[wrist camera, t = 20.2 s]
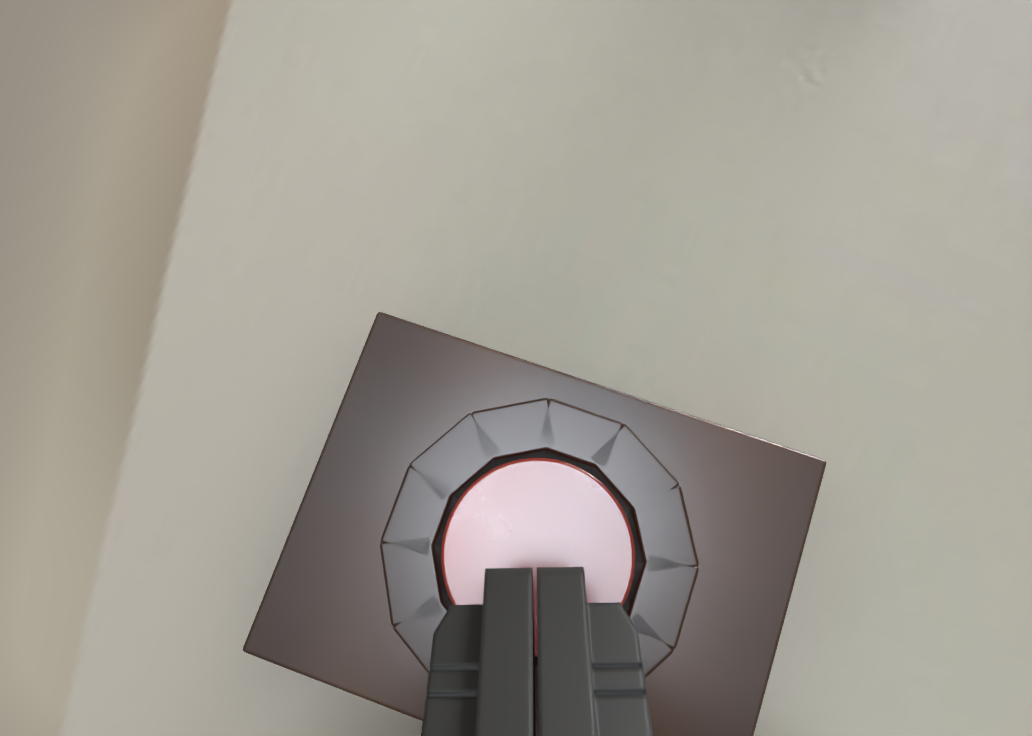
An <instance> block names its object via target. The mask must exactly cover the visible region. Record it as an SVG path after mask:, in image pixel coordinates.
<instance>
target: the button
mask: <svg viewBox="0 0 1032 736" xmlns="http://www.w3.org/2000/svg"><path fill="white" fill-rule="evenodd" d="M441 566H442V574H443V579H444V583H445V587H446V590H447V592H448V595H449V598H450V600H451V602H452V604H453V605H475V604H483V594H484V578H485V569H486V568H532V570H533V603H534V640H535V657H538V636H537V567H583V568H584V575H585V587H586V600H587V603H612V602H620V603H621V605H622V607H623V605H624V603H625V601H626V599H627V596H628V594H629V591H630V588H631V584H632V580H633V576H634V568H635V547H634V541H633V535H632V531H631V528H630V524H629V522H628V520H627V517H626V515H625V513H624V511H623V509H622V507H621V506H620V504H619V502H618V501H617V499H616V498H615V497H614V495H613V494H612V493H611V492H610V490H609V489H608V488H607V487H606V486H605V485H604V484H603V483H602V482H601V481H599V480H598V479H597V478H595V477H594V476H593V475H591V474H590V473H588V472H587V471H585V470H583V469H581V468H579V467H577V466H575V465H572V464H570V463H567V462H563V461H560V460H556V459H548V458H527V459H519V460H515V461H511V462H508V463H505V464H503V465H500V466H498V467H496V468H494V469H492V470H490V471H489V472H487V473H485V474H484V475H482V476H481V477H480V478H478V479H477V480H476V481H475V482H474V483H473V484H472V485H471V486H470V487H469V488H468V489H467V490H466V491H465V492H464V493H463V495H462V496H461V497H460V498H459V500H458V501H457V503H456V505H455V506H454V508H453V510H452V512H451V514H450V516H449V519H448V521H447V524H446V527H445V531H444V534H443V540H442V546H441Z"/></svg>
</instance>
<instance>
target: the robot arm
mask: <svg viewBox="0 0 1032 736" xmlns="http://www.w3.org/2000/svg"><path fill="white" fill-rule="evenodd" d="M537 636H538V709H539V736H653V732H652V725H651V719H650V712H649V705H648V698H647V694H646V684H645V677H644V670H643V663H642V656H641V649H640V642H639V635H638V630H637V628H636V627H635V625H634V624H633V622H632V621H631V619H630V617H629V616H628V614H627V613H626V611H625V610H624V608H623V607H622V605H621V603H620V602H612V603H587V600H586V587H585V575H584V568H583V567H537ZM426 693H427V696H426V700H425V708H424V717H423V725H422V733H421V736H536V714H535V640H534V603H533V570H532V568H486V569H485V578H484V594H483V604H475V605H450V607H449V609H448V610H447V612H446V613H445V615H444V617H443V618H442V620H441V622H440V623H439V625H438V627H437V628H436V630H435V632H434V633H433V642H432V650H431V658H430V672H429V675H428V683H427V692H426Z"/></svg>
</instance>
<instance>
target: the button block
mask: <svg viewBox="0 0 1032 736" xmlns="http://www.w3.org/2000/svg"><path fill="white" fill-rule="evenodd" d="M527 458H548V459H556V460H560V461H563V462H567V463H570V464H572V465H575V466H577V467H579V468H581V469H583V470H585V471H587V472H588V473H590V474H591V475H593V476H594V477H595V478H597V479H598V480H599V481H601V482H602V483H603V484H604V485H605V486H606V487H607V488H608V489H609V490H610V492H611V493H612V494H613V495H614V497H615V498H616V499H617V501H618V502H619V504H620V506H621V507H622V509H623V511H624V513H625V515H626V517H627V520H628V522H629V524H630V528H631V531H632V535H633V541H634V547H635V568H634V576H633V580H632V584H631V588H630V591H629V594H628V596H627V599H626V601H625V603H624V605H623V608H624V610H625V611H626V613H627V614H628V616H629V617H630V619H631V621H632V622H633V624H634V625H635V627H636V628H637V630H638V635H639V642H640V649H641V656H642V663H643V670H644V677H645V684H646V694H647V698H648V705H649V712H650V719H651V725H652V732H653V736H753V734H754V731H755V727H756V723H757V720H758V716H759V712H760V708H761V705H762V701H763V697H764V694H765V690H766V686H767V682H768V679H769V675H770V671H771V667H772V664H773V660H774V656H775V653H776V649H777V645H778V641H779V638H780V634H781V630H782V627H783V623H784V619H785V615H786V612H787V608H788V604H789V600H790V597H791V593H792V589H793V586H794V582H795V578H796V574H797V571H798V567H799V563H800V559H801V556H802V552H803V548H804V545H805V541H806V537H807V533H808V530H809V526H810V522H811V519H812V515H813V511H814V507H815V504H816V500H817V496H818V492H819V489H820V485H821V481H822V478H823V474H824V470H825V466H826V461H825V460H823V459H820V458H817V457H814V456H811V455H808V454H805V453H802V452H799V451H796V450H793V449H790V448H787V447H784V446H781V445H778V444H775V443H772V442H769V441H766V440H763V439H760V438H757V437H754V436H751V435H748V434H745V433H742V432H739V431H736V430H733V429H730V428H727V427H724V426H721V425H718V424H715V423H712V422H709V421H706V420H703V419H700V418H697V417H694V416H691V415H688V414H685V413H682V412H679V411H676V410H673V409H670V408H667V407H664V406H661V405H658V404H655V403H652V402H649V401H646V400H643V399H640V398H637V397H634V396H631V395H628V394H625V393H622V392H619V391H616V390H613V389H610V388H607V387H604V386H601V385H598V384H595V383H592V382H589V381H586V380H583V379H580V378H577V377H574V376H571V375H568V374H565V373H562V372H559V371H556V370H553V369H550V368H547V367H544V366H541V365H538V364H535V363H532V362H529V361H526V360H523V359H520V358H517V357H514V356H511V355H508V354H505V353H502V352H499V351H496V350H493V349H490V348H487V347H484V346H481V345H478V344H475V343H472V342H469V341H466V340H463V339H460V338H457V337H454V336H451V335H448V334H445V333H442V332H439V331H436V330H433V329H430V328H427V327H424V326H421V325H418V324H415V323H412V322H409V321H406V320H403V319H400V318H397V317H394V316H391V315H388V314H385V313H382V312H378V314H377V315H376V318H375V320H374V323H373V325H372V328H371V330H370V333H369V335H368V338H367V340H366V343H365V345H364V348H363V350H362V353H361V355H360V358H359V360H358V363H357V365H356V368H355V370H354V373H353V375H352V378H351V380H350V383H349V385H348V388H347V390H346V393H345V395H344V398H343V400H342V403H341V405H340V408H339V410H338V413H337V415H336V418H335V420H334V423H333V425H332V428H331V430H330V433H329V435H328V438H327V440H326V443H325V445H324V448H323V450H322V452H321V455H320V457H319V460H318V462H317V465H316V467H315V470H314V472H313V475H312V477H311V480H310V482H309V485H308V487H307V490H306V492H305V495H304V497H303V500H302V502H301V505H300V507H299V510H298V512H297V515H296V517H295V520H294V522H293V525H292V527H291V530H290V532H289V535H288V537H287V540H286V542H285V545H284V547H283V550H282V552H281V555H280V557H279V560H278V562H277V565H276V567H275V570H274V572H273V575H272V577H271V580H270V582H269V585H268V587H267V590H266V592H265V595H264V597H263V600H262V602H261V605H260V607H259V610H258V612H257V615H256V617H255V620H254V622H253V624H252V627H251V629H250V632H249V634H248V637H247V639H246V642H245V644H244V647H243V651H244V652H246V653H248V654H251V655H254V656H256V657H259V658H261V659H264V660H266V661H269V662H272V663H274V664H277V665H279V666H282V667H284V668H287V669H290V670H292V671H295V672H297V673H300V674H303V675H305V676H308V677H310V678H313V679H315V680H318V681H321V682H323V683H326V684H328V685H331V686H334V687H336V688H339V689H341V690H344V691H346V692H349V693H352V694H354V695H357V696H359V697H362V698H365V699H367V700H370V701H372V702H375V703H377V704H380V705H383V706H385V707H388V708H390V709H393V710H396V711H398V712H401V713H403V714H406V715H408V716H411V717H414V718H416V719H419V720H421V721H423V717H424V708H425V700H426V696H427V693H426V692H427V683H428V675H429V672H430V658H431V650H432V642H433V633H434V632H435V630H436V628H437V627H438V625H439V623H440V622H441V620H442V618H443V617H444V615H445V613H446V612H447V610H448V609H449V607H450V605H453V604H452V602H451V600H450V598H449V595H448V592H447V590H446V587H445V583H444V579H443V574H442V566H441V546H442V540H443V534H444V531H445V527H446V524H447V521H448V519H449V516H450V514H451V512H452V510H453V508H454V506H455V505H456V503H457V501H458V500H459V498H460V497H461V496H462V495H463V493H464V492H465V491H466V490H467V489H468V488H469V487H470V486H471V485H472V484H473V483H474V482H475V481H476V480H477V479H478V478H480V477H481V476H482V475H484V474H485V473H487V472H489V471H490V470H492V469H494V468H496V467H498V466H500V465H503V464H505V463H508V462H511V461H515V460H519V459H527ZM535 714H536V736H539V709H538V657H535Z"/></svg>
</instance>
